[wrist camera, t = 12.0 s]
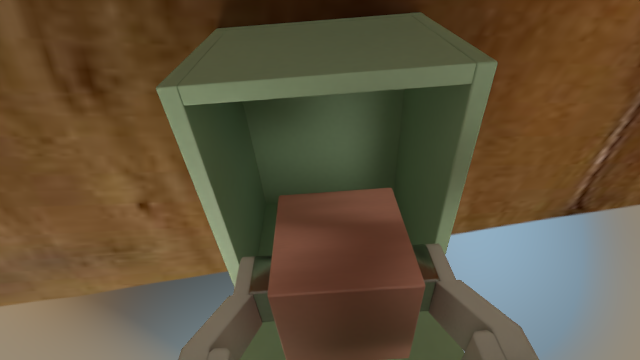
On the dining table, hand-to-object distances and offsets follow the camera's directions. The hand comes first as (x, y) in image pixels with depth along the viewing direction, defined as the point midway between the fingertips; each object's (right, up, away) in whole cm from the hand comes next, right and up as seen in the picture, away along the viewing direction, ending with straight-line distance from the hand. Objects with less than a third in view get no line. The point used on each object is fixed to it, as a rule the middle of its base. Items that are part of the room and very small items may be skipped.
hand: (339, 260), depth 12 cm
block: (0, +1, +1) cm, 2 cm away
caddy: (0, +7, +12) cm, 14 cm away
